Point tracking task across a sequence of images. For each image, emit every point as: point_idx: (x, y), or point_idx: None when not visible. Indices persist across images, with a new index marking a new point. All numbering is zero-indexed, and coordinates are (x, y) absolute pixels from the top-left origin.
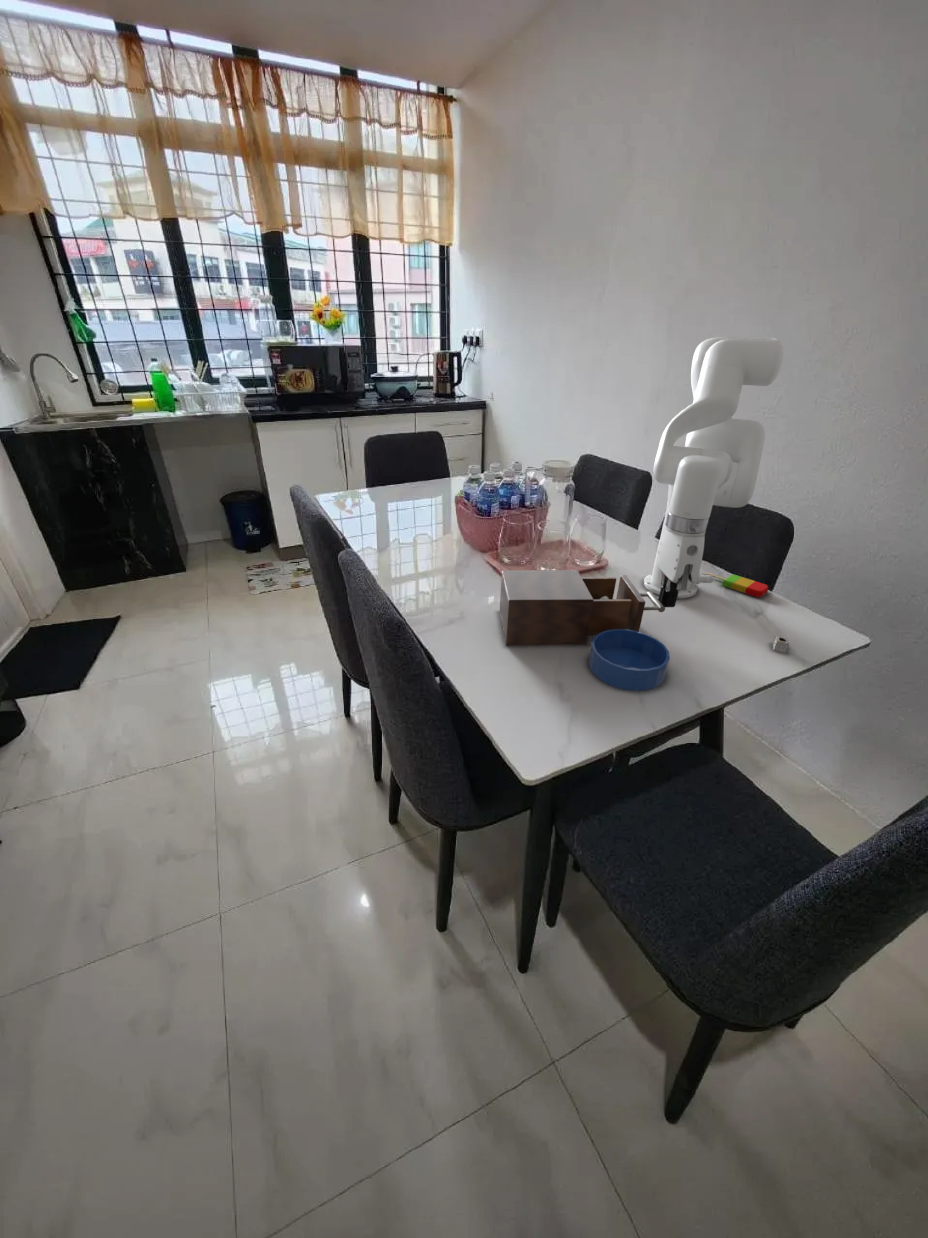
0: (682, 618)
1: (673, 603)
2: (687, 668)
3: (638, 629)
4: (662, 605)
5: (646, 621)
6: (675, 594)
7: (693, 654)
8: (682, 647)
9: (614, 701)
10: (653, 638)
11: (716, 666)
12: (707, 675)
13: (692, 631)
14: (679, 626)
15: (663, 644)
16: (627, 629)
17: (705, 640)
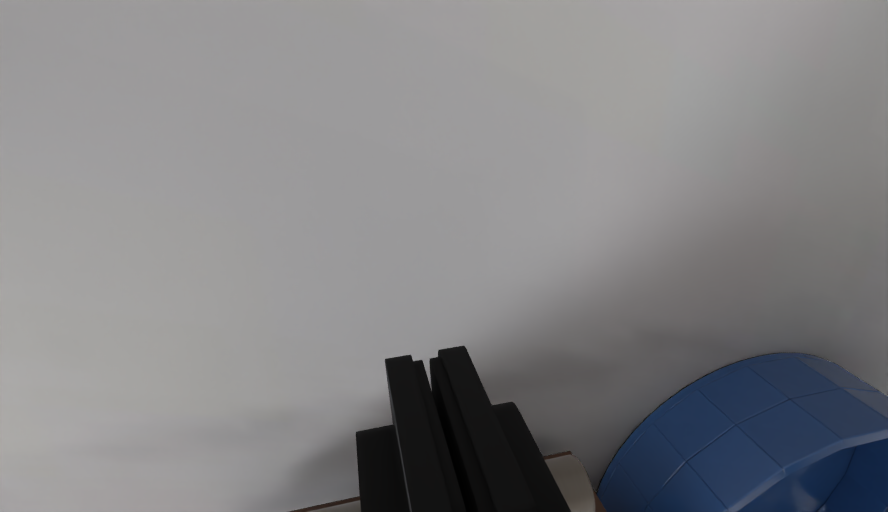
0: (212, 74)
1: (514, 406)
2: (797, 242)
3: (601, 506)
4: (572, 510)
5: (316, 360)
6: (566, 506)
7: (701, 168)
8: (626, 211)
9: None
10: (773, 482)
11: (829, 72)
12: (871, 159)
13: (435, 66)
14: (364, 148)
15: (837, 443)
16: None
17: (564, 10)
